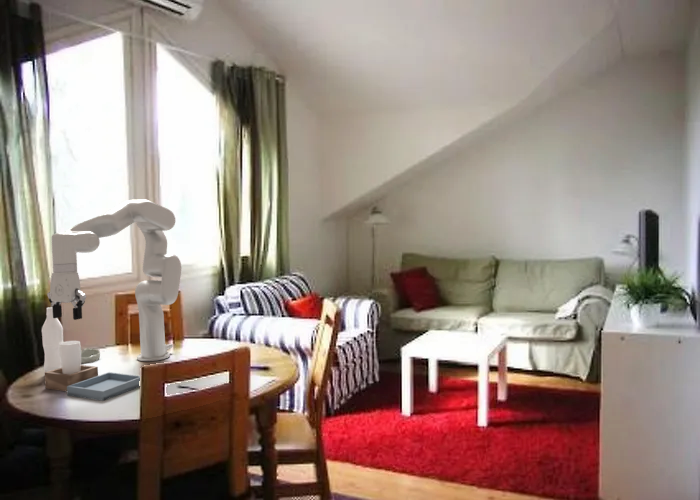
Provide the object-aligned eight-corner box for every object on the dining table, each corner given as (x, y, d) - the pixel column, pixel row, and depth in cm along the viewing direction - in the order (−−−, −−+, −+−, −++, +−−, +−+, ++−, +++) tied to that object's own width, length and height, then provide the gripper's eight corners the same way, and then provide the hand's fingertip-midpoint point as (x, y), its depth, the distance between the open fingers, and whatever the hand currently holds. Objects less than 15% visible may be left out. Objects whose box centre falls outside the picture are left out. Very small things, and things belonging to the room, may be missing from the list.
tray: (109, 380, 219) (109, 372, 219) (144, 384, 212) (143, 376, 212) (67, 395, 202) (66, 386, 202) (103, 400, 196) (103, 391, 196)
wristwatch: (94, 357, 254) (93, 345, 254) (104, 359, 251) (103, 347, 250) (74, 362, 246) (73, 350, 246) (85, 364, 243) (84, 351, 243)
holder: (74, 378, 222) (73, 363, 221) (98, 382, 217) (97, 366, 216) (45, 388, 211) (44, 372, 211) (70, 391, 206) (69, 375, 206)
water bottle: (70, 372, 231) (66, 306, 229) (55, 377, 224) (51, 309, 222) (55, 371, 233) (51, 305, 231) (39, 376, 226) (35, 309, 225)
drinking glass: (65, 382, 217) (63, 340, 216) (85, 381, 218) (83, 340, 216) (58, 388, 210) (55, 345, 209) (79, 387, 211) (76, 344, 210)
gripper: (37, 269, 211) (40, 318, 212) (74, 270, 204) (76, 321, 205) (56, 267, 218) (58, 315, 219) (92, 268, 211) (94, 317, 212)
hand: (67, 318), depth 212 cm, fingers open, 9 cm apart
